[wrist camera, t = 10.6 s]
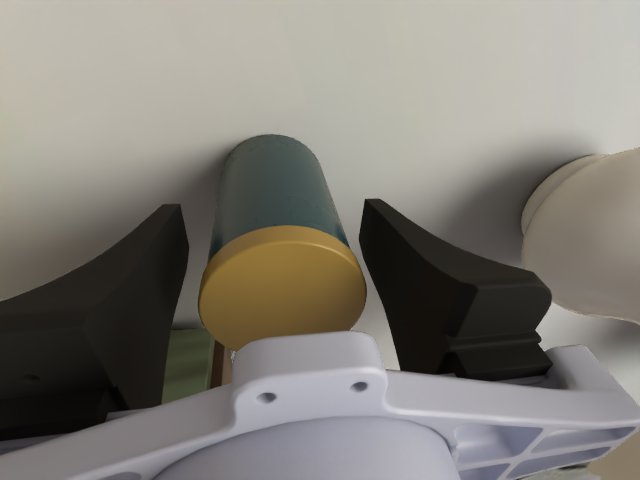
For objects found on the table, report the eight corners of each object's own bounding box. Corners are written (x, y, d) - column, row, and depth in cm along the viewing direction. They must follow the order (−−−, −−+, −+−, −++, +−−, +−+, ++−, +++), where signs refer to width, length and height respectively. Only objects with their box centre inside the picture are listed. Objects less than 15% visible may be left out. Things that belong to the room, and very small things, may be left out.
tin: (328, 131, 15) (379, 237, 9) (321, 224, 18) (356, 351, 12) (212, 131, 15) (182, 246, 8) (224, 227, 18) (209, 366, 11)
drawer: (6, 328, 18) (-119, 506, 12) (210, 313, 20) (191, 462, 14) (92, 444, 26) (44, 585, 20) (232, 426, 28) (226, 552, 22)
